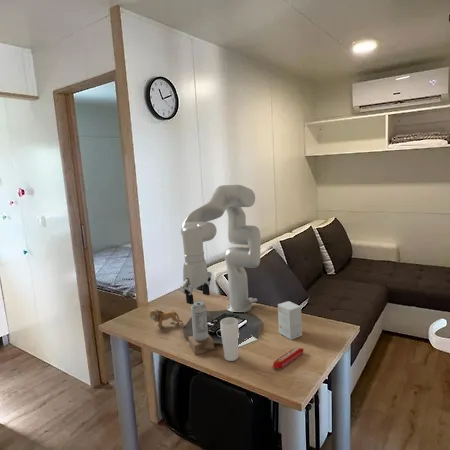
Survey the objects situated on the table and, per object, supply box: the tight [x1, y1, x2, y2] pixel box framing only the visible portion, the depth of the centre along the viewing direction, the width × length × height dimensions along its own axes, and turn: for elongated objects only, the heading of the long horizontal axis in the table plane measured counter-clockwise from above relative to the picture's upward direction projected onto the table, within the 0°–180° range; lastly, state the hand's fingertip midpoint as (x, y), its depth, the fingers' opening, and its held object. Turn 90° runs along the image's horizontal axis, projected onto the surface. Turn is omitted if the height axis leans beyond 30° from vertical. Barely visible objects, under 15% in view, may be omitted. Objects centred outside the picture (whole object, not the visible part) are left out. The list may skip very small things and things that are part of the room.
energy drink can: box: [190, 300, 209, 341], centre depth 145 cm, size 6×6×15 cm
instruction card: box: [238, 335, 258, 348], centre depth 151 cm, size 12×9×1 cm
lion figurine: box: [149, 309, 183, 329], centre depth 169 cm, size 15×5×9 cm, turn 111°
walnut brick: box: [188, 333, 215, 355], centre depth 147 cm, size 8×8×4 cm
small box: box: [277, 300, 303, 341], centre depth 153 cm, size 8×6×13 cm
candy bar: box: [272, 347, 305, 369], centre depth 134 cm, size 16×4×3 cm, turn 134°
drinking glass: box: [219, 316, 240, 362], centre depth 137 cm, size 7×7×15 cm
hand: (198, 299), depth 144 cm, fingers open, 9 cm apart
